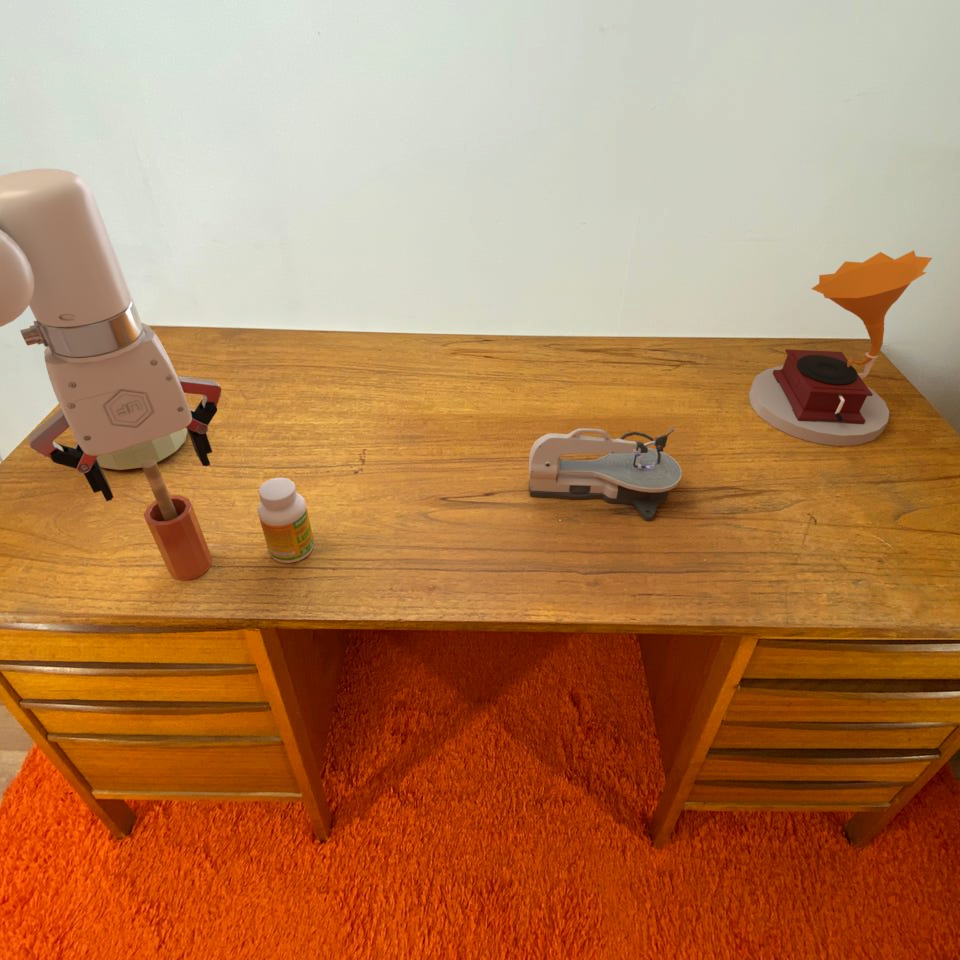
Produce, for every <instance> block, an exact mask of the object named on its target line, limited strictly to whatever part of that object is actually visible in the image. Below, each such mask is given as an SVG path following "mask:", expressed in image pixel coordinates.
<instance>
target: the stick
mask: <svg viewBox="0 0 960 960" xmlns="http://www.w3.org/2000/svg"><path fill="white" fill-rule="evenodd" d="M141 469H142V471H143V473H144V475H145V476H146V480H147V482H148V485H149V486H150V487H149V488H150V489H151V492H152V494H153V496H154V499H155V500H156V501H157V503H158V506H159V508H160V510H161V513H162V515H163V517H164V520H165V521H169V520H172V519H175V518H177V517H178V515H177V512H176V510H175V507H174V505H173V502H172V500H171V497H170V493H169V490H168V487H167V485H166V482H165V480H164V478H163V475H162V472H161V470H160V468H159V465H158V462H156V461H155V460H147V461H145V462H143V463H142V467H141Z"/></svg>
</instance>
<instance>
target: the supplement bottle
mask: <svg viewBox="0 0 960 960" xmlns="http://www.w3.org/2000/svg"><path fill="white" fill-rule="evenodd" d="M258 496H259V500H260V502H259V504H258V506H257V515H258V519H259V523H260V525H261V530H262V532H263V536H264V540H265V543H266V547H267V551H268V553H269V555H270V557H271V558H272V559H273V560H275V561H276V562H278V563H281V564H282V563H283V564H292V563H293V564H294V563H297V562H299V561H302V560H304V559H305V558H306V557H308V556H309V555H310V554H311V553H312V551H313V549H314V546H315V540H314V536H313V530H312V526H311V522H310V521H311V520H310V517H309V511H308V507H307V503H306V500H305V498H304V497H303V496H302V495H301V493H299V492H297V487H296V484H295V482H294V481H292V479H289V478H288V477H274V478H270V479H268V480H266V481H264V482H263V483H262V484H261V485H260V486H259V489H258Z"/></svg>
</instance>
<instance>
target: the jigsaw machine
mask: <svg viewBox="0 0 960 960" xmlns="http://www.w3.org/2000/svg"><path fill="white" fill-rule="evenodd" d="M673 432H675V431H674V429H673V428H671V429H670V430H669V432H668V433H667V434H664V435H660V436H658V437H657V436H655V438H653V437H652V436H650V435H648V434H646V433H643V432H638V431H631V432H626V433H624V434H623V435H622V436H621V437H620V438H612V437H611V436H610V435H609V434H608V432H607V431H606V430H605V429H600V428H586V427H585V428H584V427H582V428H577V429H574V430H573V431H571V432H570V433H555V432H554V433H553V432H550V433H546V434H544V435H542V436H540V437H539V438H537V439H536V440H535V441H534V443H533V444H532V446H531V449H530V451H529V455H528V456H529V457H528V476H529V477H528V478H529V479H528V489H529V496H530V497H534V498H553V499H554V498H555V499H564V500H595V499H596V500H603V501H604V502H606V503H608V504H616V505H617V504H618V505H619V504H620V505H633V507H634V508H635V510H636V512H637V513H638V515H639V516H640V517H641V519H643V520H644V521H647V522H648V521H649V522H651V521H652V520H653V519H654V517H655V514H656V512H657V509H658V507H659V505H661V504H663V503H664V502H665V501H667V499H668V496H669V491H671V490H672V489H674V488H676V487H677V486H678V485H679V484H680V483H681V479H682V475H683V471H682V467H681V466H680V464H679V462H678V461H677V460H676V459H675V458H674V457H672V456H671V455H669V454H667V453H665V452H664V451H665V450H664V448H666V445H667V441H668V436H670V434H671V433H673ZM584 433H586V434H599V435H601V436H602V437H599V436H588V435H581V434H584ZM634 435H635V436H639V437H643V438H645V439H647V440H649V441H648V442H646V443H644V442H642V441H634V440H626V438H627V437H632V436H634ZM651 446H655V449H654V448H649V447H651ZM593 454H594V455H595V454H596V455H597V454H598V455H599V454H607V455H604V456H602V457H598V458H596V459H588V460H587V459H561V458H560V457H562V456H565V455H593Z"/></svg>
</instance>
